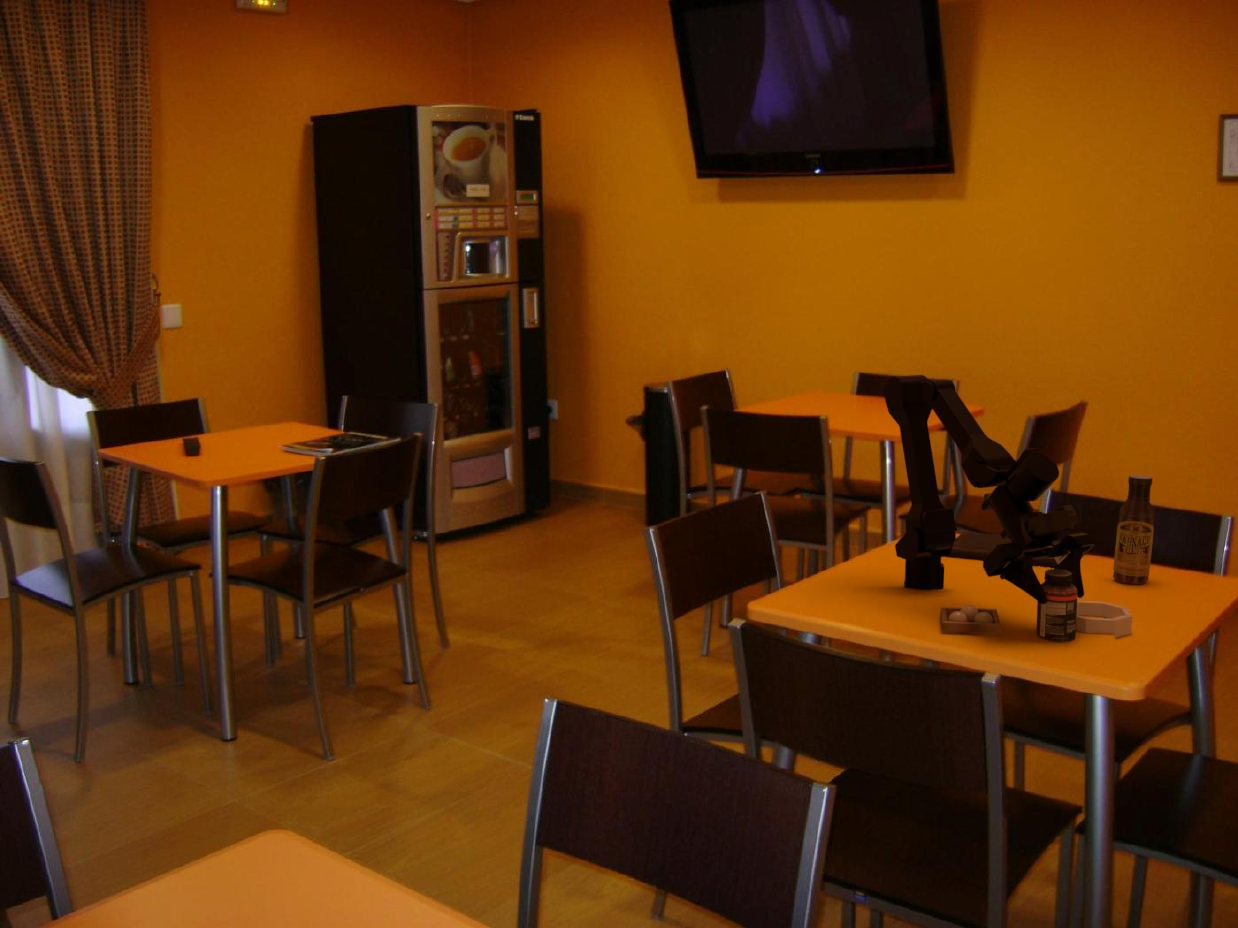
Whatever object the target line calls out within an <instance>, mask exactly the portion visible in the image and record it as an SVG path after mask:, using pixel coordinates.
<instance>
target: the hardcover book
mask: <svg viewBox="0 0 1238 928" xmlns="http://www.w3.org/2000/svg"><path fill="white" fill-rule="evenodd" d="M1061 541H1062V540H1054V541H1053V542H1052V543H1053V545H1057V544H1059V543H1060V542H1061ZM1006 543H1011V542H1010V540H1009V538H1006V539H1003V538H1002V536H1001V535H1000V534H991V533H980V532H969V531H963V532H961V533H960V534H959V535H958V536H956V540H955V541H954V544H953V547H952V550H951V554H950V556H949V557H948V558H953V559H954V558H955V559H960V560H961V559H962V560H971V561H981V562H983V560H984V559H985V558H986V556H987V555H988V554H989V553H990V552H991V551H992V550H993V549H994V548H995V547H996V546H997V545H999V544H1006ZM1057 565H1058V564H1057V563H1055V561H1054V559H1053V558H1045V559H1038V560H1033V567H1037V566H1040V568H1047V567H1050V568H1049V569H1054V568H1055V567H1056V566H1057Z"/></svg>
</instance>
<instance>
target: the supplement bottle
mask: <svg viewBox="0 0 1238 928" xmlns="http://www.w3.org/2000/svg"><path fill="white" fill-rule="evenodd" d="M1071 581H1072V573H1071V572H1069V571H1066V570H1060V569H1054V568H1049V569H1048V570H1045V572H1044V581H1043V582H1042V583H1040V584H1041V586H1042V588H1043V590H1044V592H1045V594H1046V597H1047V599H1048V602H1047V603H1046V604H1041V603H1040V602H1039V601H1037V600H1036V601H1037V602H1036V603H1037V604H1036V605H1037V606H1036V607H1037V608H1036V628H1035V629H1036V632H1035V633H1036V637H1037V638H1039V639H1041V640H1044V641H1047V642H1053V643H1069V642H1072V641H1075V640H1076V633H1077V630H1076V616H1077V601H1078V597H1077V589H1076V587H1075V586H1074V585H1072V583H1071Z"/></svg>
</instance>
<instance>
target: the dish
mask: <svg viewBox="0 0 1238 928" xmlns="http://www.w3.org/2000/svg"><path fill="white" fill-rule="evenodd" d="M1087 616H1088V617H1087ZM1100 617H1102V618H1100ZM1132 623H1133V615H1132V612H1130V610H1129V609H1128V607H1124V606H1121V605H1118V604H1113V603H1109V602H1105V601H1092V600H1091V601H1088V600H1077V616H1076V632H1082V633H1085V634H1106V635H1113V637H1114V638H1115V639H1118V638H1120V637H1121V638H1122V637H1125V636H1128V635H1131V634H1132Z"/></svg>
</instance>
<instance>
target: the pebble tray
mask: <svg viewBox="0 0 1238 928" xmlns="http://www.w3.org/2000/svg"><path fill="white" fill-rule="evenodd" d="M976 608H977V607H976ZM961 609H962V607H957V606H956V607H955V606H954V607H953V606H940V617H939V618H940V626H941V633H942V635H944V634H945V635H961V636H964V635H966V636H983V637H1002V635H1001V633H1002V624H1001V621H1000V616H999V613H998V609H997V608H996V609H995V608H979V607H978V608H977V610H978V612H979V613H980V612H986V613H988V614H990V615H991V616H992V618H993V623H974V622H952V621H948V619H949V616H950V614H951V613H953V612H955V611H960V610H961Z"/></svg>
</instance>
